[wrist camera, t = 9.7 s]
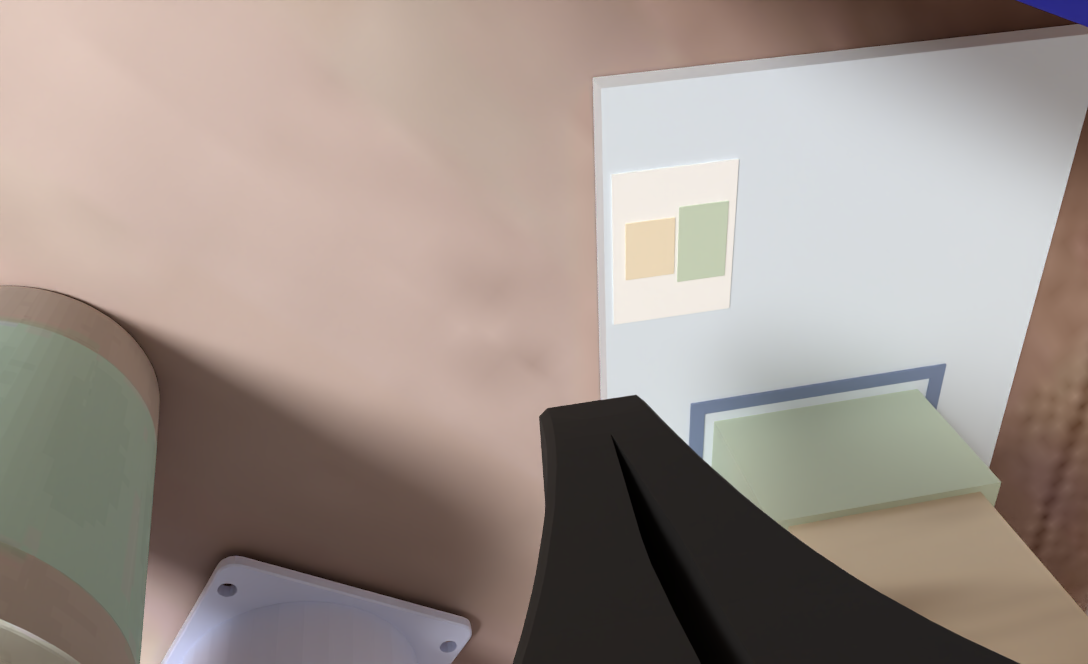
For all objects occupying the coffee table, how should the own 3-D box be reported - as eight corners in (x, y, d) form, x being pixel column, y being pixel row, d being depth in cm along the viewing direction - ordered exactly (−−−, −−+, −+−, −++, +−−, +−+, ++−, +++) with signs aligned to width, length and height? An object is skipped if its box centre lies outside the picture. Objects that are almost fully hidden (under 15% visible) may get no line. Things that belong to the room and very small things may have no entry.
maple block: (945, 626, 26) (1062, 796, 21) (773, 660, 25) (859, 842, 21) (980, 491, 23) (1121, 656, 19) (788, 526, 22) (890, 704, 18)
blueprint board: (946, 558, 32) (961, 577, 31) (606, 622, 30) (612, 644, 29) (1084, 23, 22) (1110, 32, 21) (592, 77, 20) (602, 89, 20)
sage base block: (886, 541, 29) (955, 641, 26) (704, 573, 29) (752, 682, 25) (917, 388, 26) (1001, 482, 23) (714, 421, 25) (769, 522, 22)
